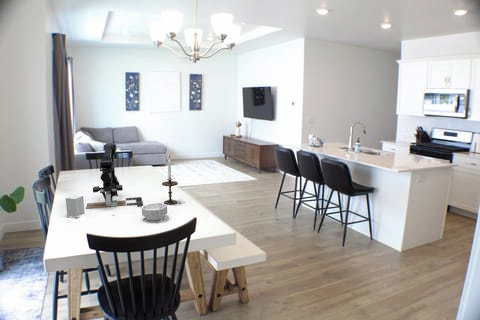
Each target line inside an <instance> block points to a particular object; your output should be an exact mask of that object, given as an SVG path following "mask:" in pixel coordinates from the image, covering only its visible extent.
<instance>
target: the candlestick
mask: <svg viewBox="0 0 480 320" xmlns="http://www.w3.org/2000/svg"><path fill="white" fill-rule="evenodd" d="M170 157H171V154H169V156H168V160H167V169H168V171H167V173H168V176H167V177H168V178H167V179H166V180H167V181H163V182H162V183H161V185H162V186H164V187H168V191H167V193H168V197H169V198H168V199H167V200H165V201H163V204H166V205H167V206H168V205H169V206H170V205H176V204H178V201H177V200H176V199H172V197H173V195H172V194H173V192H172V187H175V186H177V185H179V182H178V181H175V180H174V181H173V178H172V166H171V165H172V161H171V158H170Z"/></svg>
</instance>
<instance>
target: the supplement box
mask: <svg viewBox="0 0 480 320" xmlns="http://www.w3.org/2000/svg"><path fill="white" fill-rule="evenodd" d="M65 208H66V215H67V218H68V219H69V218H70V219H71V217H73V219H75V220H76V219H80V218H81V215H84V214H85V213H86V212H85V200H84V195H76V194H73V195H70V196H67V197H65Z"/></svg>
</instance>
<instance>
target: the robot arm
mask: <svg viewBox="0 0 480 320" xmlns="http://www.w3.org/2000/svg"><path fill="white" fill-rule="evenodd" d="M117 148H118V147H117V145H116V144H115V143H106V144H103V151H104V153H103V154H104V155H103V157H102V158H101V160H100V163H99V172H102V173H101V175H100V177H99V178H100V180H101V181H102V187H100V185H97V186H93V187H92V193H99V194H102V197H104V202H106V192H107V191H109V192H110V191H111V201H112V200H113V197H117V196H119V194H118V191H124V190H123V189H124V188H123V184H120V182H119V180H118V177H117V175H116V172H115V171H116V169H115V168H116V167H115V155H116V153H117V151H118V149H117Z"/></svg>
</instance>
